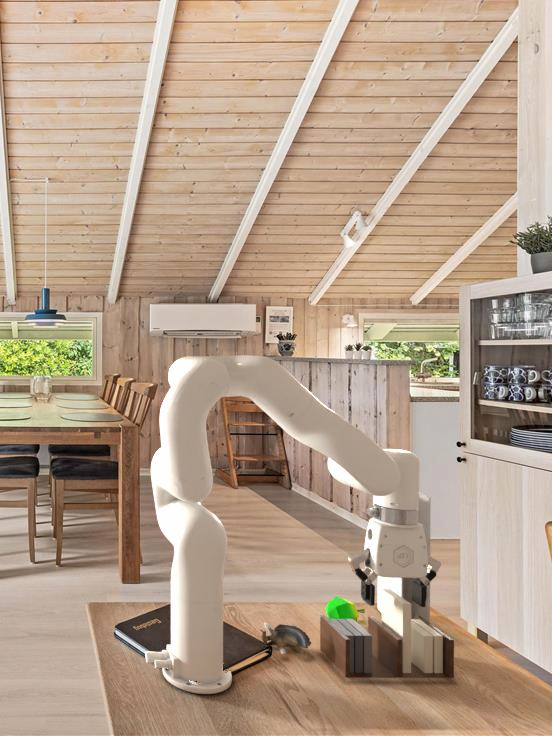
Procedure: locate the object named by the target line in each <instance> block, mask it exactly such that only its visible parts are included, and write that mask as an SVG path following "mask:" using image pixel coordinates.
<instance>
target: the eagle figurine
mask: <svg viewBox="0 0 552 736" xmlns="http://www.w3.org/2000/svg"><path fill="white" fill-rule="evenodd" d="M263 625H264V628H265V629H266V630H263V629H261V628H260V629H259V631H260V632H261V636H260V639H261V641H262V644H263V643H264V644H266V645H269V647H271V646H276V647H277V650H278V651H279V652H280V654H282V655H284V656H285V655H287V651H286V648H289V649H291V650H293V651H294V652H296V653H298V654H299V655H300V654H303V653H304V652H305V651H304V649H308V648H309V647H311V645H312V641H311V639H310V637H309V635H308V634H307V633H306V632H305V631H304V630H303V629H301V628H299V627H297V626H296V625H289V624H281V623H280V624H278V625H277V626H275V627H274V629H273V628H272V627H271V626H270V624H269V623H268V622H263ZM267 632H268V633H269V634H270V635H267Z"/></svg>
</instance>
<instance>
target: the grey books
mask: <svg viewBox="0 0 552 736" xmlns="http://www.w3.org/2000/svg"><path fill="white" fill-rule="evenodd" d="M327 619H328V618H327ZM328 620H330V621H331V622H332V623H333V624H334V625H335V626H336V627H337V628H338V629H339V630H340V631H341V632H342V633H343V634H344V635H346V636H347V637H348V638H349V639H350V673H354V672H355V673H363V672H364V673H372V635H371V634H370V633H368V630H366V629H365V628H364V627H363V626H361V624H359V623H358V622H357V621H355V620H353V619H337V620H336V619H328Z"/></svg>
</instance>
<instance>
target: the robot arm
mask: <svg viewBox="0 0 552 736" xmlns="http://www.w3.org/2000/svg"><path fill="white" fill-rule="evenodd" d="M167 378H168V379H167V380H168V383H169V386H170V388H169V390H168V392H167V393H166V395H165V397H164V398H163V402H162V404H161V406H160V410H159V433H160V434H159V435H160V445H161V447H160V448H158V449H157V451H156V452H155V453H154V455H153V457H152V459H151V462H150V463H151V464H150V479H151V487H152V493H153V500H154V507H155V513H156V520H157V523H158V526H159V529H160V531H161V533H162V534H163V536H164V537H165V538H166V539H167V540H168V541H169V542H170V543H171V545H172V546H173V550H174V551H173V552H174V553H173V558H172V559H173V560H172V564H171V570H170V643H169V644H166V649H162V650H161V651H153V650H152V651H151V650H150V651H145V653H144V655H145V662H146V663H147V664H154V668H155V669H162V670H161V671H162V676H163V677H164V679H166V681H167V682H168V683H170V684H171V685H172V686H174V687H176V688H178V689H180V690H182V691H185V692H188V693H193V694H200V695H213V694H218V693H222V692H224V691H227V689H229V688H230V687H231V685H232V681H233V677H232V676H233V674H232V672H231V670H230V671H228V670H224V671H228V672H227V673H224V674H223V664H224V575H225V574H224V573H225V565H226V558H227V552H228V535H227V534H228V533H227V531H226V528H225V526H224V524H223V523H222V521H221V520H220V519H219V517H217V516H216V514H214V513H213V512H212V511H211V510H209V509H208V508H206V507H205V506H204V505H202V504H203V503H202V502H203V501H204V500H205V499H207V498H208V496H209V495H210V493H212V490H213V486H214V474H213V467H212V462H211V457H210V456H211V455H210V450H209V443H208V442H209V441H208V432H207V421H208V417H209V414H210V411H211V410H212V408H213V407H214V406H215V405H216V403H217V402H218V401H220V400H221V398H228V397H243V398H247V399H249V400H250V401H252V402H253V403H254V404H255V405H256V406H257V407H258V408H259V409H260V410H262V412H264V413H265V414H266V415H267V416H269V417H270V418H271V419H272V420H273V421H274V422H275V423H276V424H277V425H278V426H279V427H280V428H281V429H282V430H283V431H284V432H285V433H286V434H288V435H289V436H290V437H292V438H293V439H295V440H296V441H297V442H299V443H300V444H302V445H305V446H306V447H309V448H311V449H312V450H315V451H317V452H318V453H321V454H322V455H324V456H325V457H327V458H328V459H327V469H328V471H329V473H330V475H331V476H332V477H333V478H334V479H335V480H336V481H338V482H339V483H341V484H343V485H346V486H347V487H350V488H353V489H356V490H358V491H360V492H363V493H366V494H367V495H370V496H373V497H372V498H373V499H372V506H371V507H367V508H366V514H367V515H368V516H372V518H369V520H368V524H367V528H366V533H365V539H364V546H363V547H364V549H363V550H361V551H359V552H358V553H356V554H353V555H352V556H350V557H348V559H347V562H348V564H349V566H350V568H351V571H352V573H353V574H355V575H356V576H357V577H358V579H359V580H360V596H361V599H362V601H363V602H365V603H366V604H367V605H369V606H370V607H374V606H375V605H376V603H375V602H376V586H375V584H374V582H375V580H377V579H378V576H381V577H391V578H415V580H413V582H412V601H414V602H415V603H416V604H418V605H419V606H421V607H425V603H426V599H427V586H429V585H430V586H431V582H432V581H433V580H434V579H435V578H436V577H437V573H438V571H439V570H440V568H441V566H442V562H440V561H439V560H437V558H436V559H435V558H434V557H432V556H431V555H430V556H428V555H427V545H426V538H425V533H424V529H423V525H422V524H420V523H418V512H419V509H418V506H419V491H420V466H421V465H420V464H421V463H420V458H419V457H418V455H417V454H415V453H414V452H412V451H408V450H403V449H395V448H394V449H393V448H382V447H381V446H380V445H379V444H377V443H376V442H375V441H374V440H373V439H372V438H371V437H370V436H368V435H367V434H365V433H364V432H363V431H362V430H361V429H359V428H358V427H356V426H355V425H353V424H352V423H351V422H349V421H347V420H346V419H344V417H342V416H341V415H339V414H338V413H337V412H335V411H334V410H332V409H330V408H329V407H327V406H326V405H325V404H324V403H323V402H321V401H320V400H319V399H318V398H317V397H316V396H315V395H313V393H312V392H311V391H309V390H308V388H306V387H305V386H304V385H302V383H301V382H300V381H299V380H297V379H296V378H295V377H294V376H293V375H292V374H291V373H290V371H288V370H287V369H286V368H284V366H283V365H282V364H281V363H279V362H278V361H276V360H275V359H273V358H271V357H268V356H263V355H251V354H241V355H240V354H239V355H238V354H237V355H187V356H183V357H180V358H178V359H177V360H175V361H174V362H173V363H172V365H170V368H169V371H168V375H167ZM361 563H363V564H364V568H363V569H361V565H360V564H361ZM428 563H429V565H428ZM167 668H168V670H167ZM189 680H190V681H192V680H193V681H197V682H201V683H202V684H199V685H194V684H192V683H190V682H189Z"/></svg>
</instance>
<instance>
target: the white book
mask: <svg viewBox="0 0 552 736" xmlns="http://www.w3.org/2000/svg"><path fill="white" fill-rule="evenodd" d="M381 623H382V624H383V625H384V626H385V627H387V628H388V629H389V630H390V631H392V632H393V633H394V634H395V635H396V636H398V637H399V638H400V639H401V640H402V673H411V603H409V602H408V601H406V600H405V599H403V598H402V597H401V596H399V595H398V594H396V593H395V592H393V591H392V590H390V589H382V613H381Z"/></svg>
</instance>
